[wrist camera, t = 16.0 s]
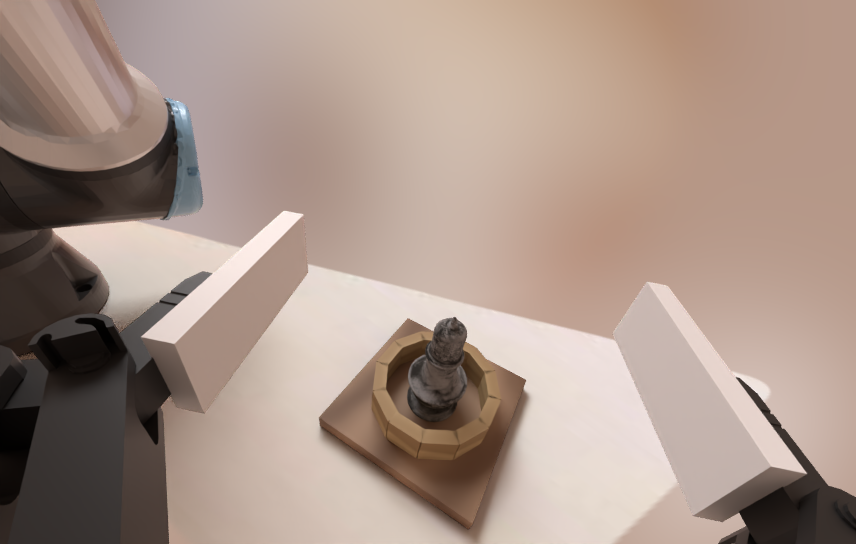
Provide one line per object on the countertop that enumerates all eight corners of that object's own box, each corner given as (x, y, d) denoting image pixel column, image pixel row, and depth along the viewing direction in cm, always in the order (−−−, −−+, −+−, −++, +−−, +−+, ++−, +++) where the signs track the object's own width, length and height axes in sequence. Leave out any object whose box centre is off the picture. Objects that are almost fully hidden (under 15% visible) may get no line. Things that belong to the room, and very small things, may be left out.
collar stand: (319, 425, 33) (317, 400, 30) (406, 326, 44) (410, 301, 42) (468, 529, 28) (481, 510, 25) (522, 387, 40) (535, 363, 37)
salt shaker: (468, 417, 34) (502, 339, 27) (413, 431, 32) (433, 351, 25) (448, 369, 38) (472, 290, 31) (397, 378, 36) (411, 297, 29)
